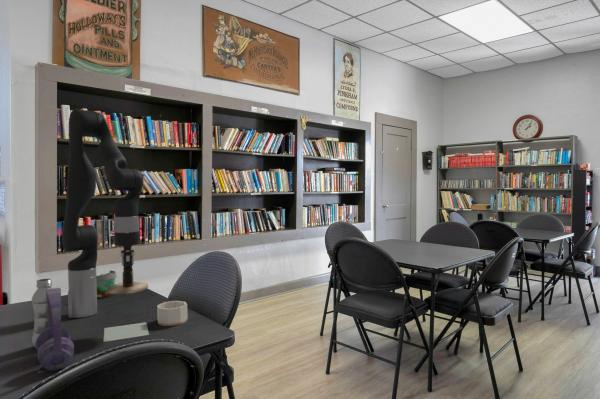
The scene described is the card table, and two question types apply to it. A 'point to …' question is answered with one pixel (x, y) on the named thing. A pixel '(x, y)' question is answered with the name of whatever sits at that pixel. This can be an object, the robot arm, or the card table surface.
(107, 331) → the mat
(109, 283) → the food container
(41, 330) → the plastic bottle
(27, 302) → the card table surface
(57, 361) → the headphones
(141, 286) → the lid
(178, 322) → the cup
